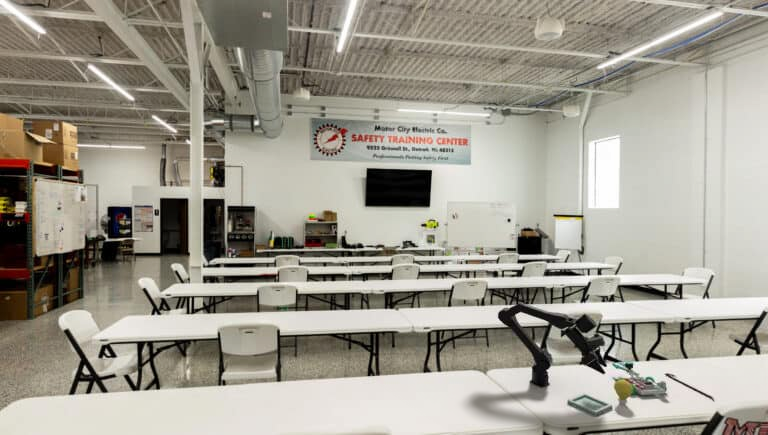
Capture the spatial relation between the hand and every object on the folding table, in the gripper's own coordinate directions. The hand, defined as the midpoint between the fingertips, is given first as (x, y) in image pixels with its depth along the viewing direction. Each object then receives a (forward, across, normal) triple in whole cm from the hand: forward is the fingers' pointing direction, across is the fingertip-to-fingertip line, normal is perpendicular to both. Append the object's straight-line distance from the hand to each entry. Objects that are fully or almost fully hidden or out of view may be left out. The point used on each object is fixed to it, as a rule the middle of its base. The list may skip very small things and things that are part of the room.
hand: (605, 370), depth 173 cm
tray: (+6, -10, +12) cm, 17 cm away
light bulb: (+14, 0, +4) cm, 15 cm away
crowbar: (+33, +39, -14) cm, 52 cm away
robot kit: (+16, +25, +2) cm, 30 cm away
